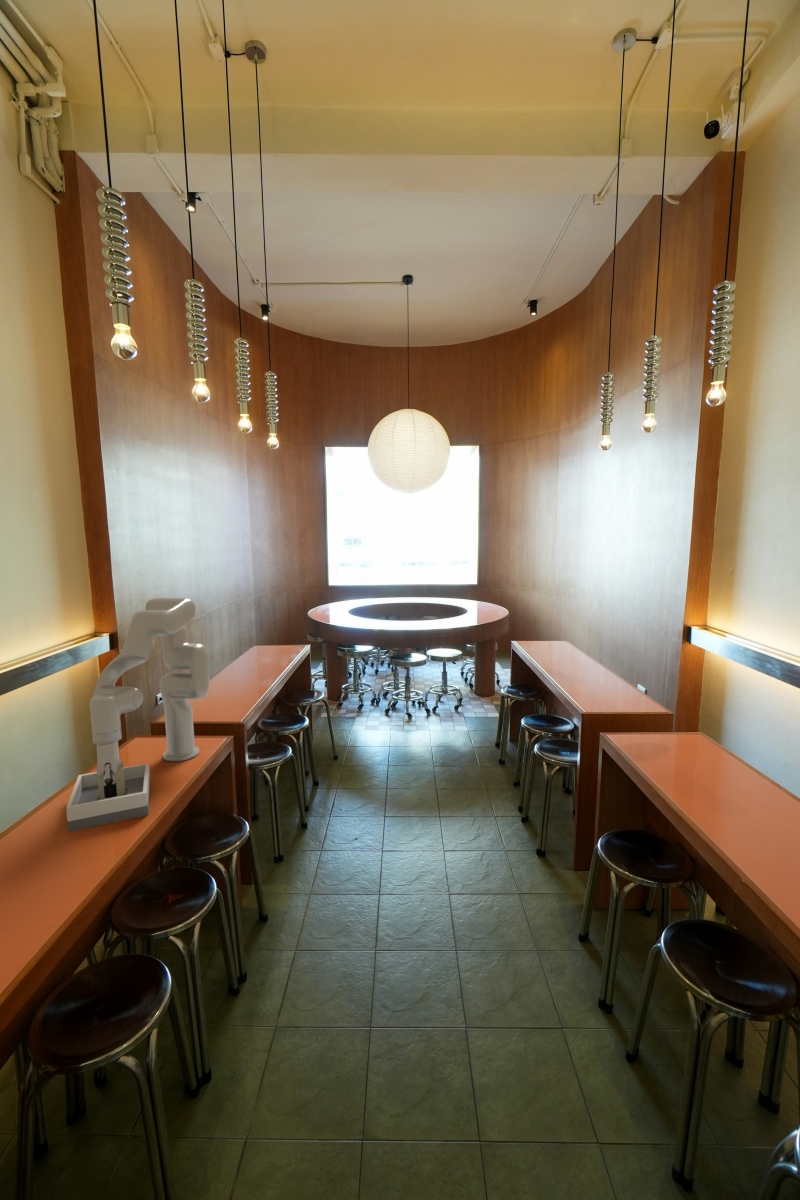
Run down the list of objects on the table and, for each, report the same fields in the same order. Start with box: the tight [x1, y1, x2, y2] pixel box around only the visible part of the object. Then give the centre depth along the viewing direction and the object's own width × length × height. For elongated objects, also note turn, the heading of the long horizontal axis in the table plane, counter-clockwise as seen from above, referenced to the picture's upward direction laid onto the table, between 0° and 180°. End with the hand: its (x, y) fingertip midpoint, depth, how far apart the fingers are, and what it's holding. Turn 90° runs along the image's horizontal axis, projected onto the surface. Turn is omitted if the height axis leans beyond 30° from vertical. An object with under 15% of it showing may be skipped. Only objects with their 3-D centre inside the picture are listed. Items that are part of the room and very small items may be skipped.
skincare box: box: [96, 759, 126, 800], centre depth 157 cm, size 6×4×12 cm
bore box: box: [65, 762, 151, 833], centre depth 157 cm, size 22×20×7 cm
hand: (112, 790), depth 157 cm, fingers closed on skincare box, 7 cm apart
